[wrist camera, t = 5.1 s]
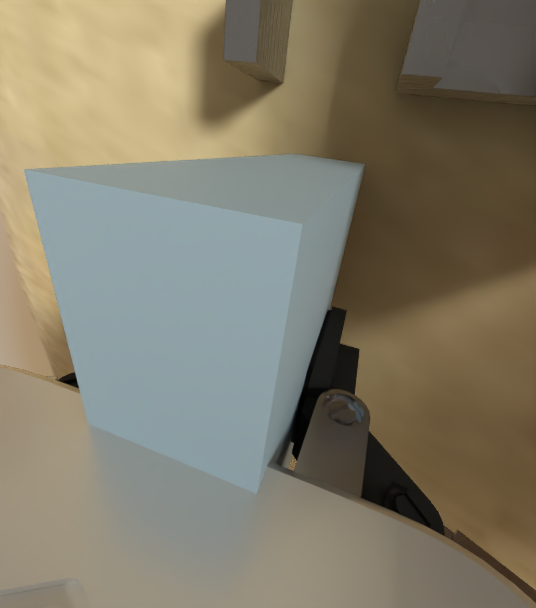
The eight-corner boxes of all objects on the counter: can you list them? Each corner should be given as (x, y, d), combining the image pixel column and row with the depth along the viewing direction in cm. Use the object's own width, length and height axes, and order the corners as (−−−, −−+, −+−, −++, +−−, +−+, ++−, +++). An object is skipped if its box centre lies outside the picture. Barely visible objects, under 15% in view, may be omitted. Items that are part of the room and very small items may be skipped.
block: (365, 163, 11) (303, 223, 2) (305, 407, 16) (224, 685, 8) (265, 149, 11) (-73, 149, 3) (241, 386, 17) (106, 616, 9)
